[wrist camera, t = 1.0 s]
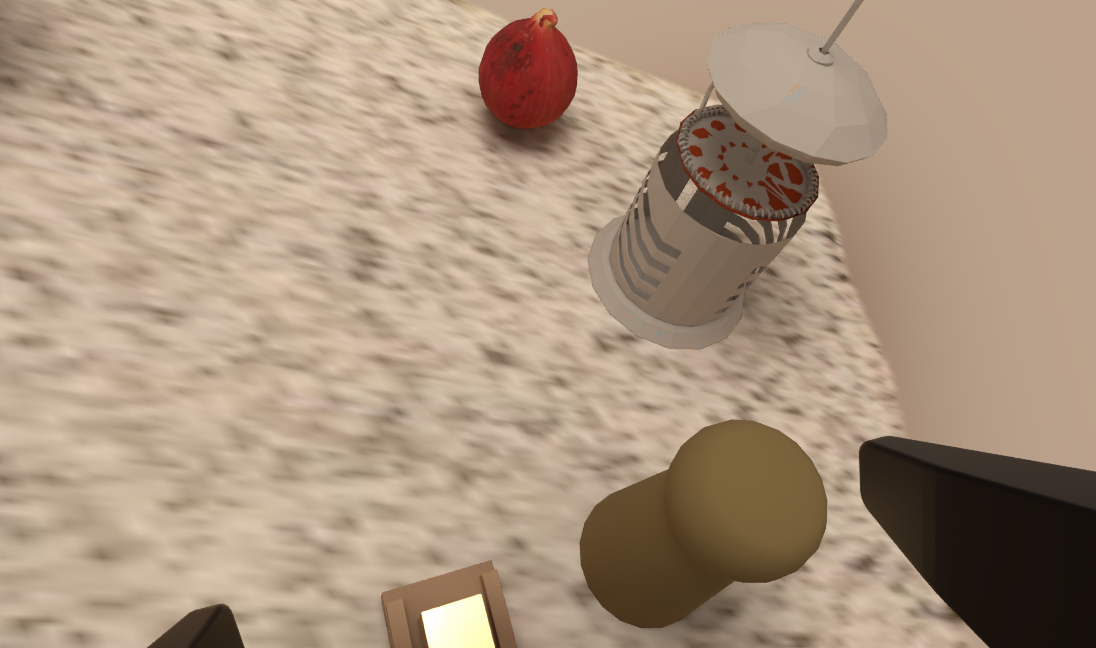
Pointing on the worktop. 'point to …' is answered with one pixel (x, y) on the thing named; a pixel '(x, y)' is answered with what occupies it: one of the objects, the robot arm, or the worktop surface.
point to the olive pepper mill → (705, 524)
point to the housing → (443, 590)
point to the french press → (735, 181)
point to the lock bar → (457, 625)
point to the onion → (528, 72)
